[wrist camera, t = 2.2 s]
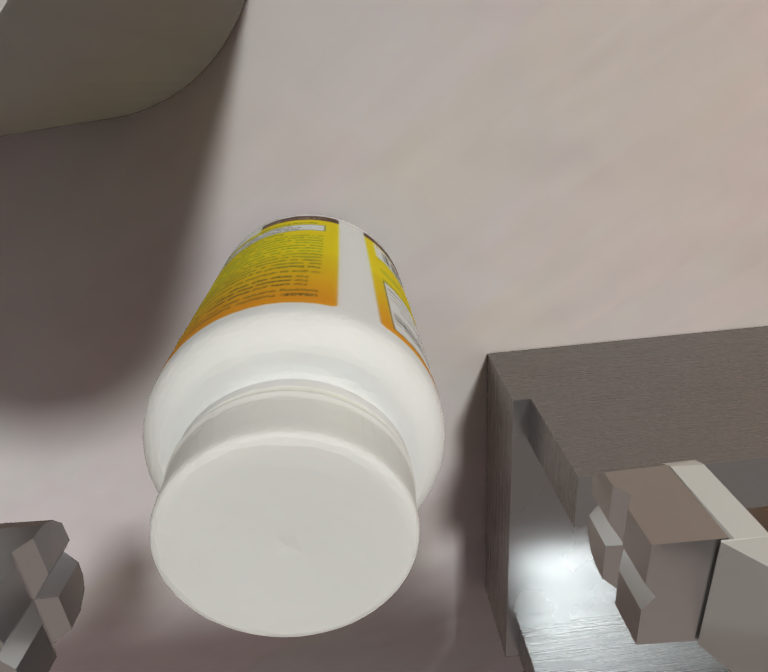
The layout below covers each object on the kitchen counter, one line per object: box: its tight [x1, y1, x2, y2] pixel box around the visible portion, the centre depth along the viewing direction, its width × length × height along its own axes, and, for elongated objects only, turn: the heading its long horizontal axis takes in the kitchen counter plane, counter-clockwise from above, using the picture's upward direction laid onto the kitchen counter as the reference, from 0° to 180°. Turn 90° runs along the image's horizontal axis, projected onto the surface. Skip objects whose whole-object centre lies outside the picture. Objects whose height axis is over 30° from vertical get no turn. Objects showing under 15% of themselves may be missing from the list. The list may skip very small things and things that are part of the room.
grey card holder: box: [486, 326, 768, 672], centre depth 18 cm, size 13×11×7 cm
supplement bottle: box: [143, 214, 445, 637], centre depth 13 cm, size 6×6×10 cm
